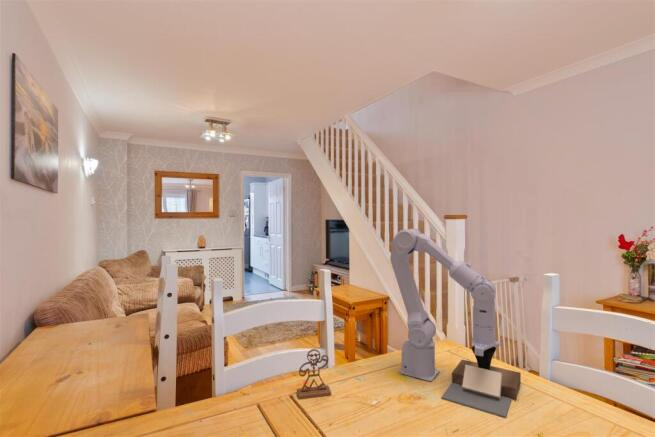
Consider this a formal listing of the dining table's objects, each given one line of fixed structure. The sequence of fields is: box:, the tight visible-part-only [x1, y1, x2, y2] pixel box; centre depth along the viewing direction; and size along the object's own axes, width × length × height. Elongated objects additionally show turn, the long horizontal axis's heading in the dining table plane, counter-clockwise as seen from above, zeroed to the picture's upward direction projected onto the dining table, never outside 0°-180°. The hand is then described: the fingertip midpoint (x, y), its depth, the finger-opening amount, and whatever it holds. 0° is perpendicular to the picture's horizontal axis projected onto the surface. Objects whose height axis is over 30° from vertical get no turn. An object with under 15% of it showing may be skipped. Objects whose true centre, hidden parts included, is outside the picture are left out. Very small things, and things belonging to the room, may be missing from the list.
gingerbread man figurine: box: [296, 348, 332, 400], centre depth 91 cm, size 9×4×12 cm, turn 102°
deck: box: [451, 359, 522, 401], centre depth 96 cm, size 16×11×3 cm
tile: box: [462, 365, 502, 399], centre depth 90 cm, size 9×6×2 cm
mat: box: [441, 382, 512, 419], centre depth 87 cm, size 15×10×1 cm, turn 55°
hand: (484, 373), depth 94 cm, fingers closed
